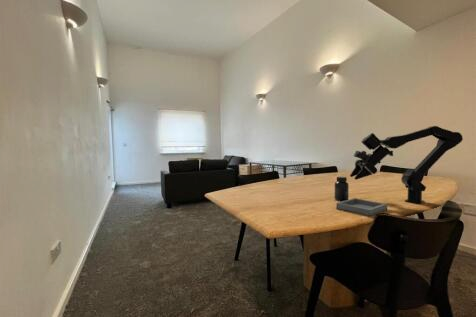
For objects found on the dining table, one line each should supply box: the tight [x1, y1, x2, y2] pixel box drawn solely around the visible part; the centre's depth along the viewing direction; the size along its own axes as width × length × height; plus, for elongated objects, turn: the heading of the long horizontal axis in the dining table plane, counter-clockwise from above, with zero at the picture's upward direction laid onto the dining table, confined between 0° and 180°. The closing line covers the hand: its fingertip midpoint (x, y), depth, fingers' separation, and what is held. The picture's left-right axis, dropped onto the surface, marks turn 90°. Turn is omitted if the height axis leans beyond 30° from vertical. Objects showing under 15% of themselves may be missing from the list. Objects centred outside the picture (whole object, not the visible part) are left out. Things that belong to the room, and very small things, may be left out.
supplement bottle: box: [334, 176, 350, 202], centre depth 128 cm, size 7×7×12 cm
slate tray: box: [335, 197, 388, 218], centre depth 110 cm, size 15×15×3 cm
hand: (352, 177), depth 127 cm, fingers open, 9 cm apart
